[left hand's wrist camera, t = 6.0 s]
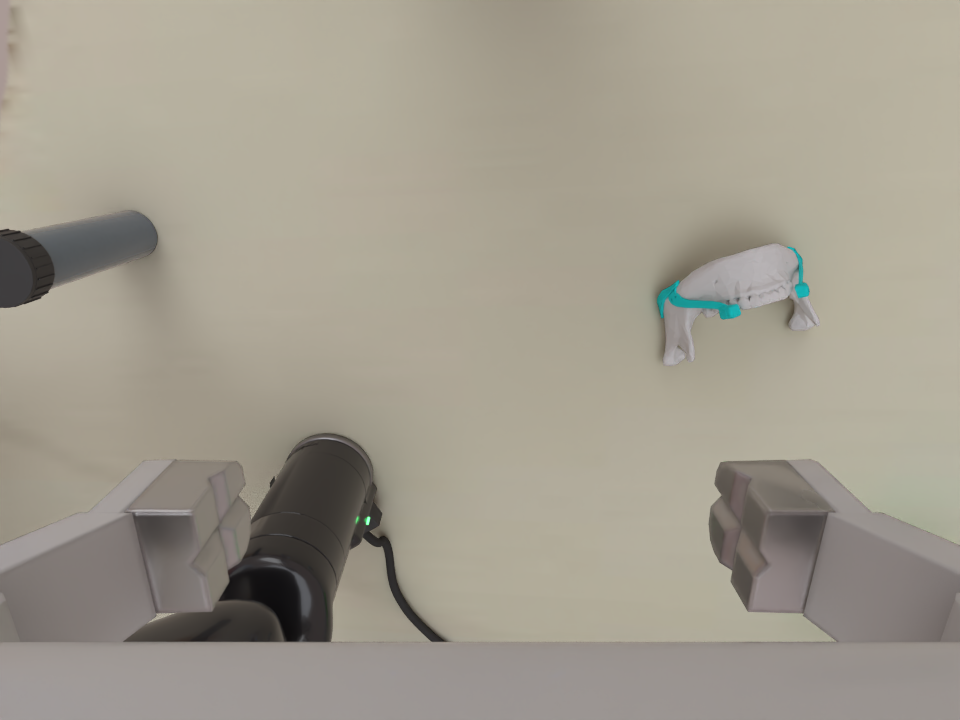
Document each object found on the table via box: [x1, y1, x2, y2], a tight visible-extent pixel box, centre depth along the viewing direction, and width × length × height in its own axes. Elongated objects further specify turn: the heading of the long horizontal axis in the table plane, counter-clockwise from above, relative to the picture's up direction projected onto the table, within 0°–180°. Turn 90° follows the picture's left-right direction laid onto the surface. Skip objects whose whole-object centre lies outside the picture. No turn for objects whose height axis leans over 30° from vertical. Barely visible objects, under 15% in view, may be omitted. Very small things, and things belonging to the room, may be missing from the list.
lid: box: [0, 229, 55, 308], centre depth 41 cm, size 5×5×2 cm
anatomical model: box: [657, 243, 820, 366], centre depth 54 cm, size 15×10×10 cm
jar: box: [21, 211, 157, 289], centre depth 48 cm, size 4×4×17 cm
